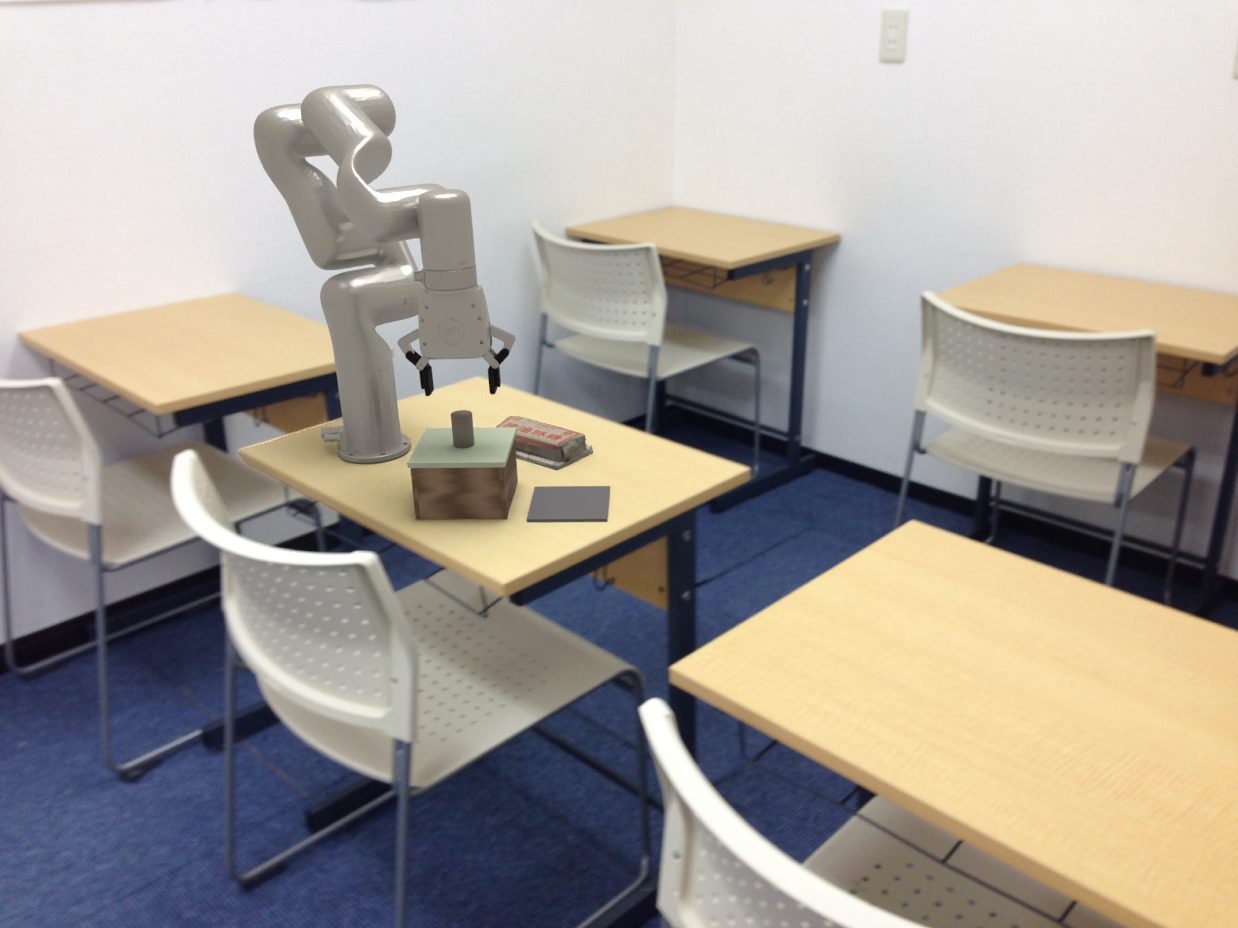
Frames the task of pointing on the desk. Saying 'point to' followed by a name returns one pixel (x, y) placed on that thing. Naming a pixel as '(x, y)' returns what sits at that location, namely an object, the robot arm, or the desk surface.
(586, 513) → the mat
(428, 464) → the lid
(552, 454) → the packaged product
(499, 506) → the box
